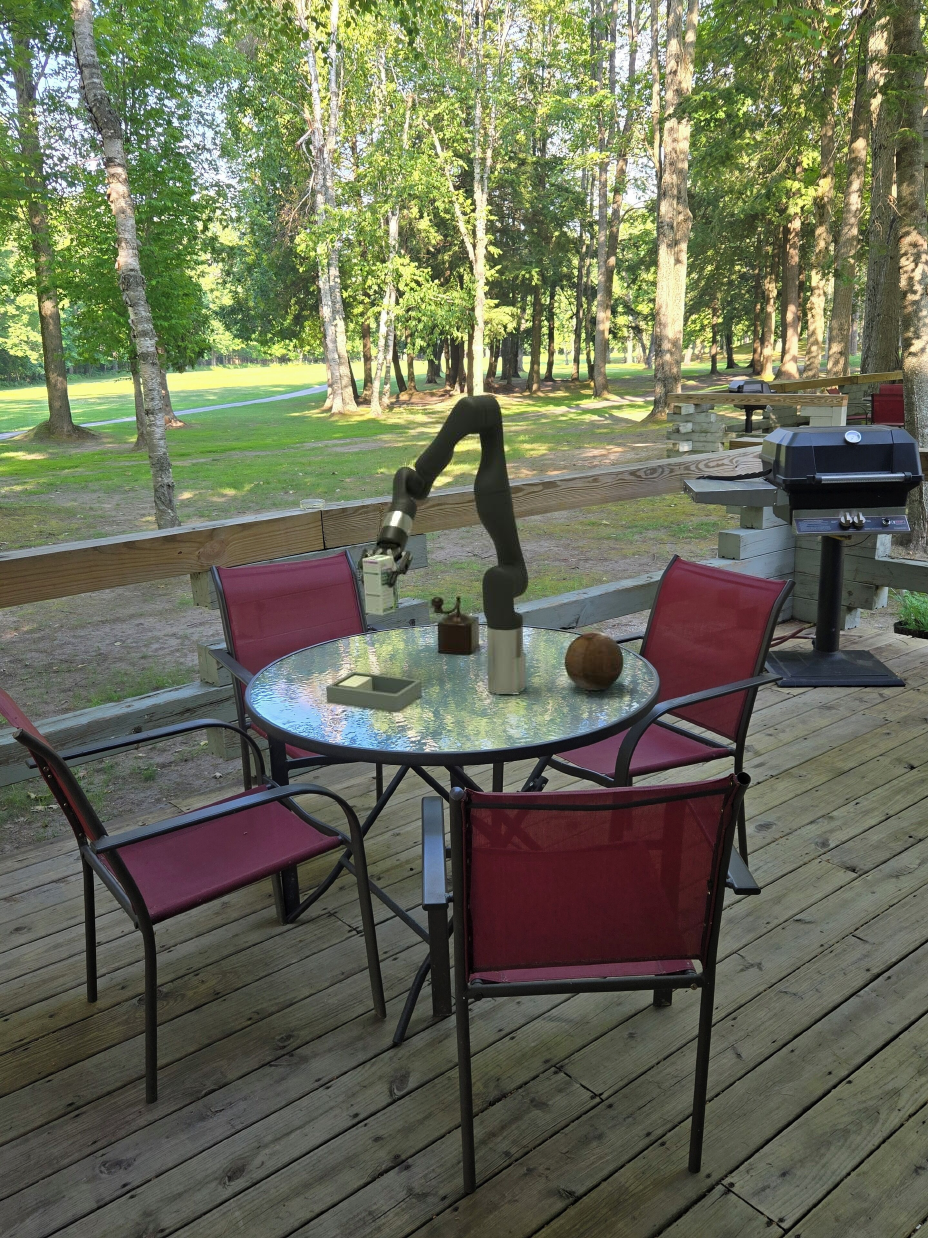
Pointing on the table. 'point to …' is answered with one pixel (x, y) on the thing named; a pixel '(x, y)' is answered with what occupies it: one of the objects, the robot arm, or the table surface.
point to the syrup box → (378, 585)
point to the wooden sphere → (594, 661)
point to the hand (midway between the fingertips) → (376, 585)
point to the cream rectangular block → (358, 683)
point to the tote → (377, 692)
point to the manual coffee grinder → (456, 630)
